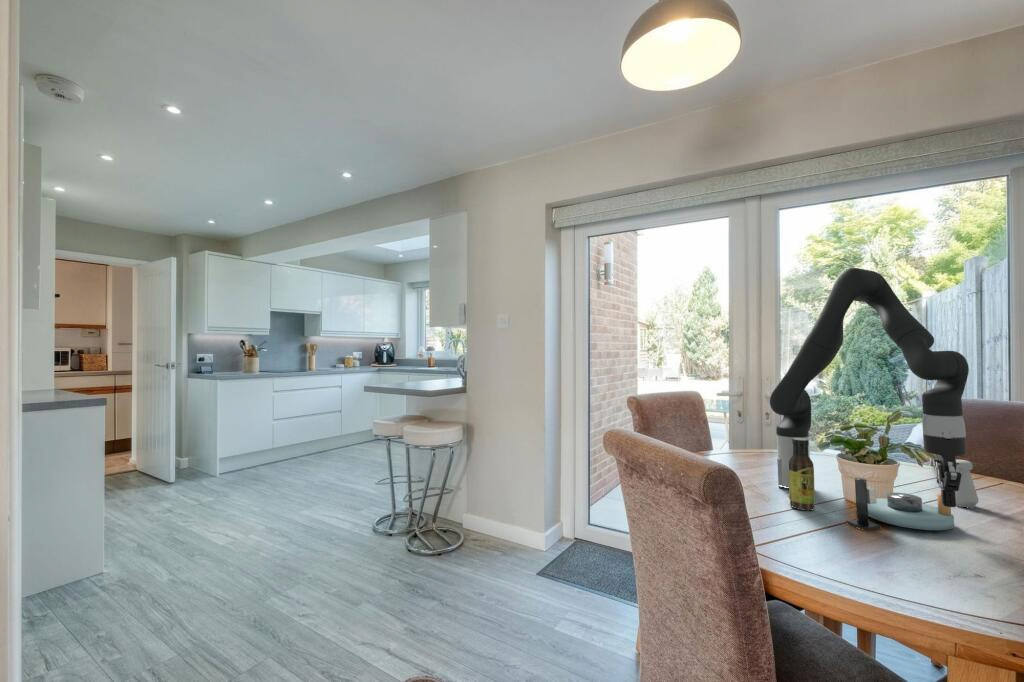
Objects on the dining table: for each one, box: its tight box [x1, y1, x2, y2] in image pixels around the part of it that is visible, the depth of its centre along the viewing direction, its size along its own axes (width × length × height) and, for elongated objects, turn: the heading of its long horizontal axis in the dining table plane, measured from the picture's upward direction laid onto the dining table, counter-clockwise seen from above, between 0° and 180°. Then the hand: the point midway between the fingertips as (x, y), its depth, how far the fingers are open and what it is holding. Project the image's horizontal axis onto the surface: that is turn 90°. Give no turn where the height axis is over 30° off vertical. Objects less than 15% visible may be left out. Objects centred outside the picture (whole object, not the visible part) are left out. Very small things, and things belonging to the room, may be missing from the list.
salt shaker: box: [955, 459, 979, 509], centre depth 129 cm, size 6×6×13 cm
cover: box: [886, 492, 923, 513], centre depth 120 cm, size 7×7×3 cm
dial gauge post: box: [845, 477, 882, 531], centre depth 116 cm, size 6×5×12 cm
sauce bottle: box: [788, 438, 816, 511], centre depth 131 cm, size 6×6×20 cm
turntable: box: [868, 492, 955, 531], centre depth 119 cm, size 18×18×7 cm
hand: (949, 506), depth 108 cm, fingers closed
